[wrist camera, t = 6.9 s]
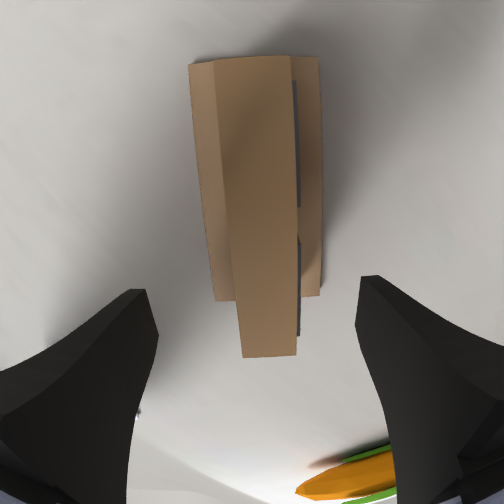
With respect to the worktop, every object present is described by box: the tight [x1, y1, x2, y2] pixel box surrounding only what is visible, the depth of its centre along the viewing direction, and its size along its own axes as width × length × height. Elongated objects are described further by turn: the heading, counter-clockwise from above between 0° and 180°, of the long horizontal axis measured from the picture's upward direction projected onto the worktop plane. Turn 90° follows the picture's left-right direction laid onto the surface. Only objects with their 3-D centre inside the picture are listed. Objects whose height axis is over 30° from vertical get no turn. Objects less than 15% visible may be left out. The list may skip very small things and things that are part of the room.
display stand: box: [188, 57, 323, 301], centre depth 17 cm, size 7×15×3 cm, turn 4°
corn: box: [295, 444, 397, 504], centre depth 30 cm, size 7×8×20 cm
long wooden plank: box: [213, 55, 301, 358], centre depth 14 cm, size 3×13×4 cm, turn 4°
